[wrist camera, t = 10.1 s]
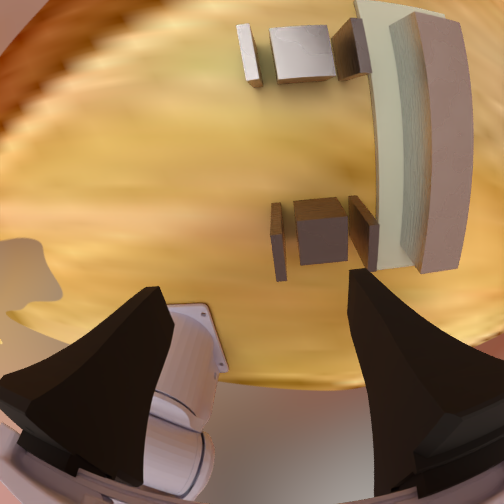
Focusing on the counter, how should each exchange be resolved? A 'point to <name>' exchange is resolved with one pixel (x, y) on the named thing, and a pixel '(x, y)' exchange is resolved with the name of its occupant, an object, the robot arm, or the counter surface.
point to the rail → (434, 138)
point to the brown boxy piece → (326, 233)
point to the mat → (387, 125)
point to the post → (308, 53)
